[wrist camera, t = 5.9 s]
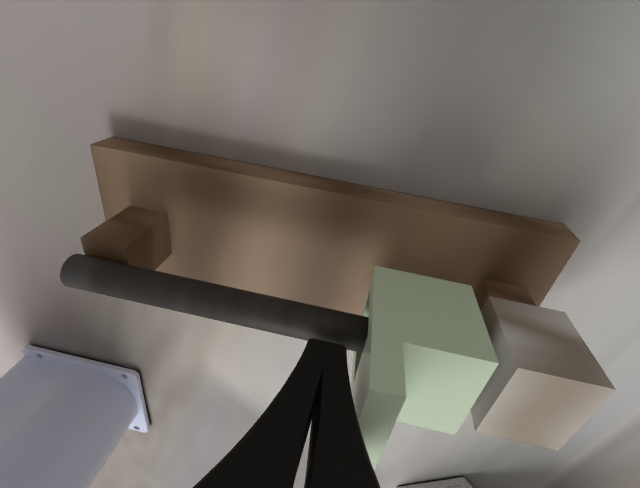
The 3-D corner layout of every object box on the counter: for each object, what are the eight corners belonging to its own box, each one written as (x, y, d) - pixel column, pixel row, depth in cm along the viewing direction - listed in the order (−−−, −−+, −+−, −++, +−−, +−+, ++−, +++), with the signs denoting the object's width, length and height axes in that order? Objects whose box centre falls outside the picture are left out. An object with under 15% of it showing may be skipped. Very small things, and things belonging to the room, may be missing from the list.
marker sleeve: (356, 333, 16) (343, 464, 11) (374, 265, 14) (369, 389, 9) (439, 351, 16) (465, 495, 11) (471, 285, 14) (520, 424, 9)
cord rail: (134, 266, 21) (32, 359, 15) (112, 136, 17) (-43, 191, 11) (493, 345, 20) (543, 483, 14) (564, 224, 16) (681, 344, 10)
